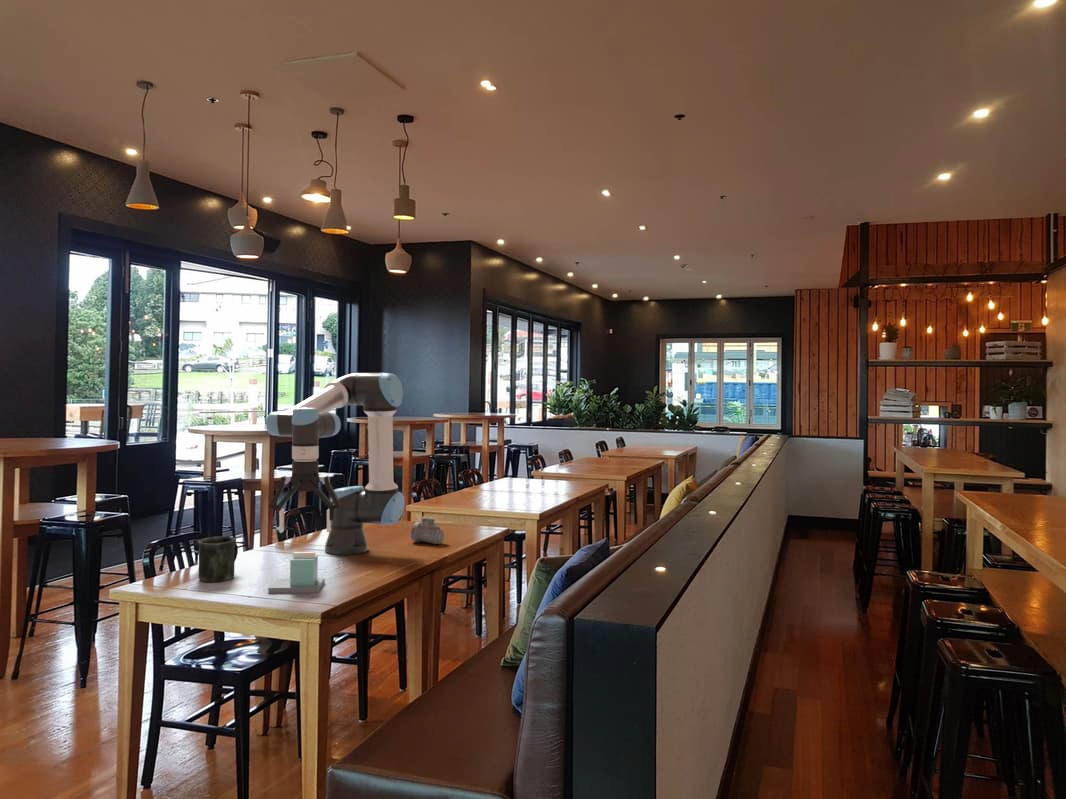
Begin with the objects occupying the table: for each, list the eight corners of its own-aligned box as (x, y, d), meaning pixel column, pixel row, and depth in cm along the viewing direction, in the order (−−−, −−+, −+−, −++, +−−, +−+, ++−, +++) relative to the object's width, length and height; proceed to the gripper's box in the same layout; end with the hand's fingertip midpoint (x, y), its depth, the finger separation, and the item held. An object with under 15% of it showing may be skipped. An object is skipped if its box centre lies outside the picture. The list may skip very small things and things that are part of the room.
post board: (277, 583, 232) (277, 561, 232) (324, 583, 234) (324, 561, 234) (268, 593, 221) (268, 570, 221) (317, 592, 223) (318, 570, 223)
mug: (188, 581, 233) (189, 542, 233) (221, 570, 247) (221, 533, 247) (219, 584, 230) (219, 544, 230) (250, 573, 244) (250, 535, 244)
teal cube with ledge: (290, 585, 224) (290, 554, 224) (294, 580, 231) (295, 550, 231) (313, 585, 225) (313, 554, 225) (317, 579, 231) (317, 550, 231)
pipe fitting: (407, 542, 294) (412, 515, 294) (420, 540, 302) (424, 514, 302) (433, 549, 289) (437, 522, 289) (445, 547, 296) (449, 521, 296)
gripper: (258, 461, 222) (258, 534, 223) (346, 461, 225) (346, 533, 225) (265, 458, 230) (265, 529, 230) (350, 458, 232) (350, 528, 233)
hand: (305, 531), depth 228 cm, fingers open, 13 cm apart
